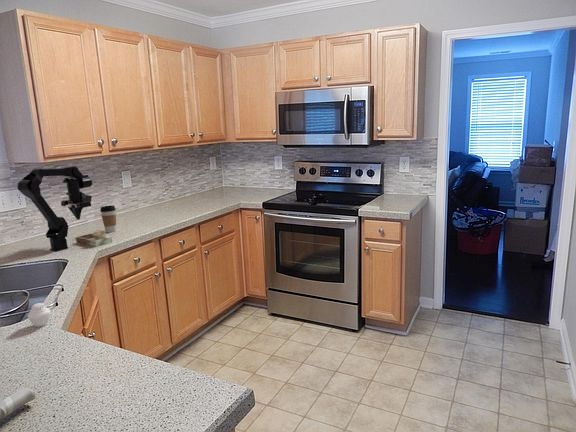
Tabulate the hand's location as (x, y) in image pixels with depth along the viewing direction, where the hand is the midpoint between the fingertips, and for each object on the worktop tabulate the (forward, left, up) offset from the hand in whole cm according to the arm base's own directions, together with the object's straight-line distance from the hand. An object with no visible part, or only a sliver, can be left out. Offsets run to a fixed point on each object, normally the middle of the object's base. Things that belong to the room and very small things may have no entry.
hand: (78, 219), depth 229 cm
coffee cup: (+21, +5, -12) cm, 25 cm away
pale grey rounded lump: (-65, -85, -12) cm, 107 cm away
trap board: (+1, -9, -12) cm, 15 cm away
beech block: (+1, -15, -9) cm, 18 cm away
